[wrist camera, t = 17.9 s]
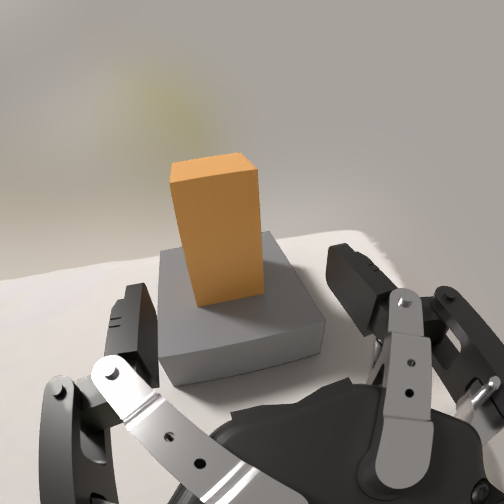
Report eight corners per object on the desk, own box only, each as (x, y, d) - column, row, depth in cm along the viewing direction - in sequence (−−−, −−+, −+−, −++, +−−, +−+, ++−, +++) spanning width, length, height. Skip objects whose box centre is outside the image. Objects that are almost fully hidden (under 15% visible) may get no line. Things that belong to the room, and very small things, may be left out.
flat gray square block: (319, 353, 21) (332, 277, 17) (173, 386, 19) (137, 317, 15) (270, 260, 33) (267, 197, 28) (168, 280, 31) (151, 217, 26)
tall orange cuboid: (264, 293, 22) (257, 169, 17) (197, 307, 21) (169, 183, 16) (249, 257, 26) (239, 152, 21) (192, 268, 26) (172, 163, 20)
